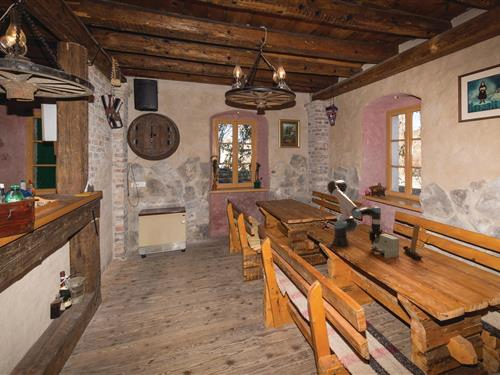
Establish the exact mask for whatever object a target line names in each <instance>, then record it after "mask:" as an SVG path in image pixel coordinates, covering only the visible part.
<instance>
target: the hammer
mask: <svg viewBox="0 0 500 375" xmlns="http://www.w3.org/2000/svg"><path fill="white" fill-rule="evenodd" d="M420 228H421V225H420V224H418V223H415V224H414V225H413V228H412V230H413V231H412V236H411V243H410V247H409V246H408V245H404V247H403V248H402V249H403V250H404V253H405V254H406V255H408V256H409V257H411V258H412V259H413V258H414V259H413V260H421V259H423V258H424V256H422V255H419V253H418V252H417V251H416V249H417V244H418V239H419V235H420Z"/></svg>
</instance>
